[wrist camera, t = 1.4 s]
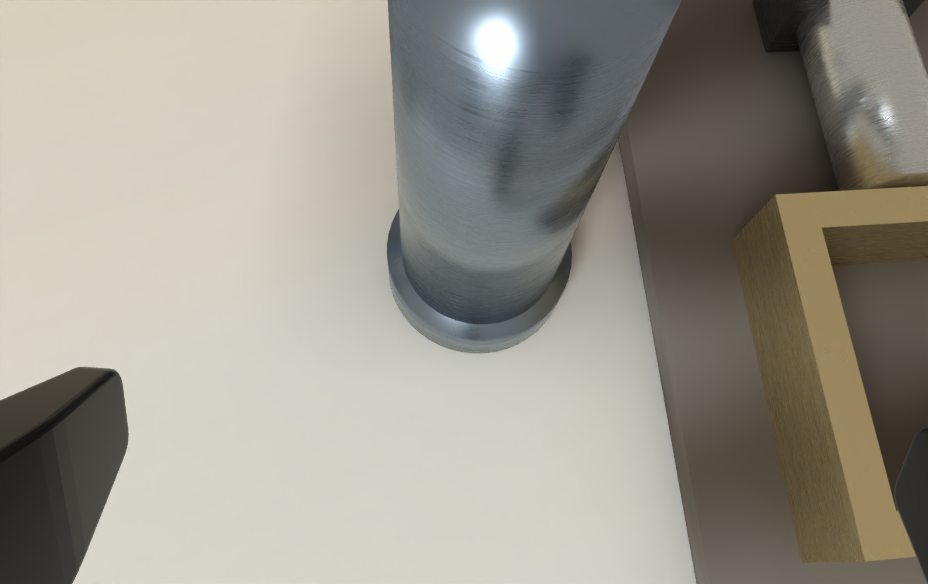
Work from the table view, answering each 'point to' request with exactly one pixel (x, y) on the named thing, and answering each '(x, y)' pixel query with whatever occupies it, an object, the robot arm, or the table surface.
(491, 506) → the table surface
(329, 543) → the table surface
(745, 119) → the shaft board
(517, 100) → the steel coupler
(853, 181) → the socket
